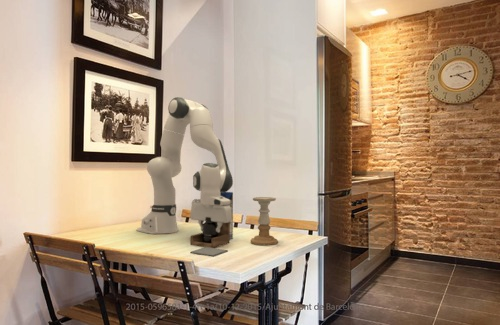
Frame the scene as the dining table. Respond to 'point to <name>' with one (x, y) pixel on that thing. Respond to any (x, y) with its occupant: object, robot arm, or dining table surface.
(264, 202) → the candle holder
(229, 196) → the beverage box
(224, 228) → the walnut cubby
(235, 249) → the dining table surface
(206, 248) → the slate mat
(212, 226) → the supplement bottle
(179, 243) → the dining table surface
